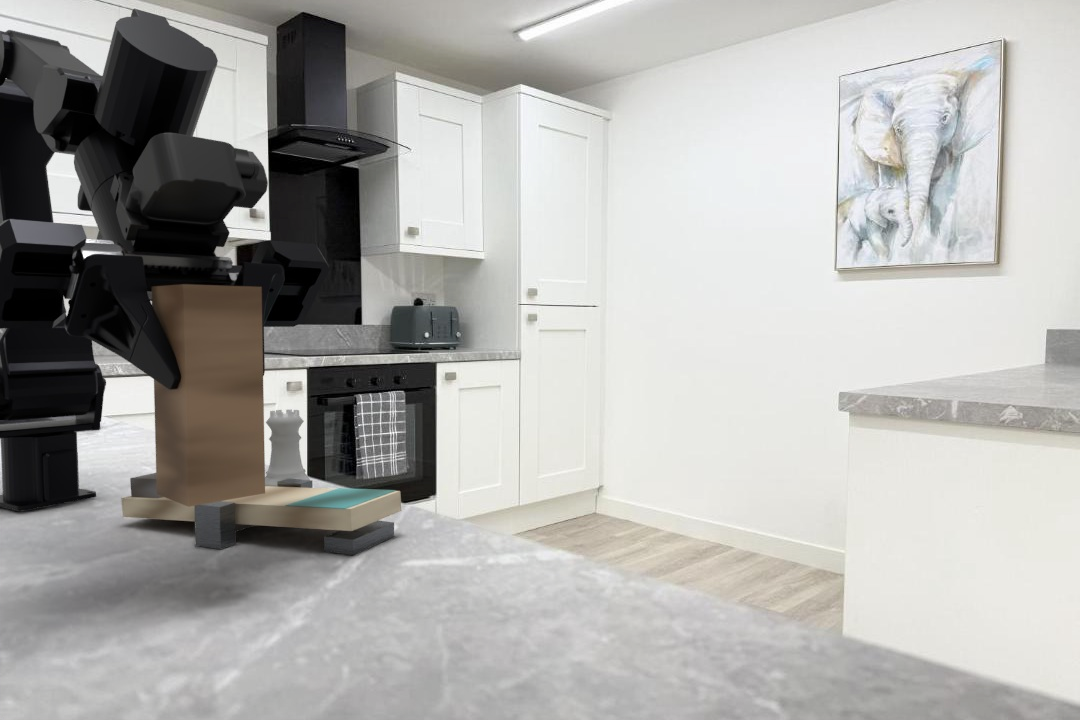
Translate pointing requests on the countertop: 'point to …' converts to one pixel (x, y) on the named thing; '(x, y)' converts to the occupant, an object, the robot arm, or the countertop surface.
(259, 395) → the column
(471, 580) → the countertop surface
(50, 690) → the countertop surface
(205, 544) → the seesaw stand
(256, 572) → the countertop surface
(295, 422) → the rook chess piece
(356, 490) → the seesaw beam
